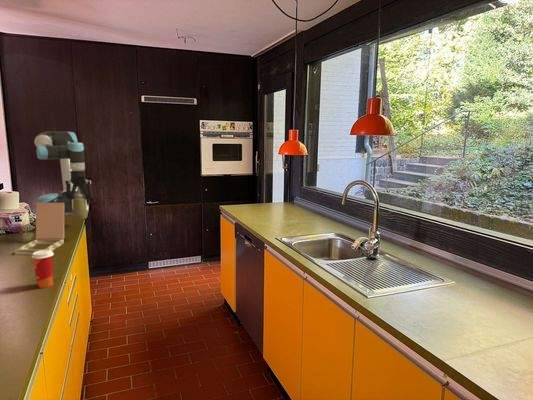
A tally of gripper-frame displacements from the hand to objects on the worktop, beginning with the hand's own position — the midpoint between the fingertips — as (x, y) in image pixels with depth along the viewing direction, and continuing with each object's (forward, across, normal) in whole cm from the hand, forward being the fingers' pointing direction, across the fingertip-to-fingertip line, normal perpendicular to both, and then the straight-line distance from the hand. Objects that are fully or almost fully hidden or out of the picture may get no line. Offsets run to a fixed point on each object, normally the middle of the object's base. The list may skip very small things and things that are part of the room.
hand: (80, 210), depth 214 cm
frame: (+18, -16, -16) cm, 29 cm away
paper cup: (+19, +12, -67) cm, 70 cm away
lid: (+5, -16, -4) cm, 17 cm away
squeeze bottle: (+5, 0, 0) cm, 5 cm away
